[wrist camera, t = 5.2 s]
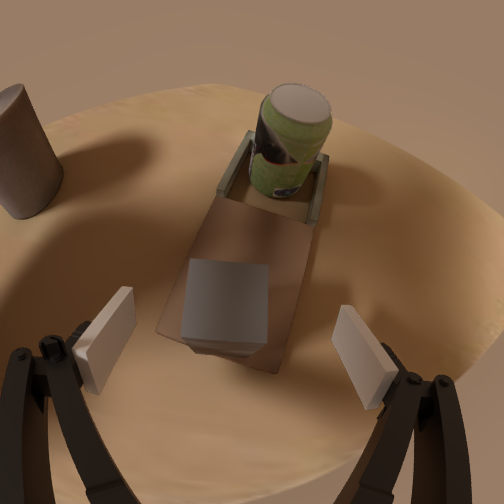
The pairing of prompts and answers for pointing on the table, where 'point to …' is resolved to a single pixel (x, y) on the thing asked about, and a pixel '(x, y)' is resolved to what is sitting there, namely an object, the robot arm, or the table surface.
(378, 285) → the table surface
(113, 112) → the table surface
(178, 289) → the pull strip
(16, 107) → the pillar candle
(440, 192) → the table surface
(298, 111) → the beverage can
